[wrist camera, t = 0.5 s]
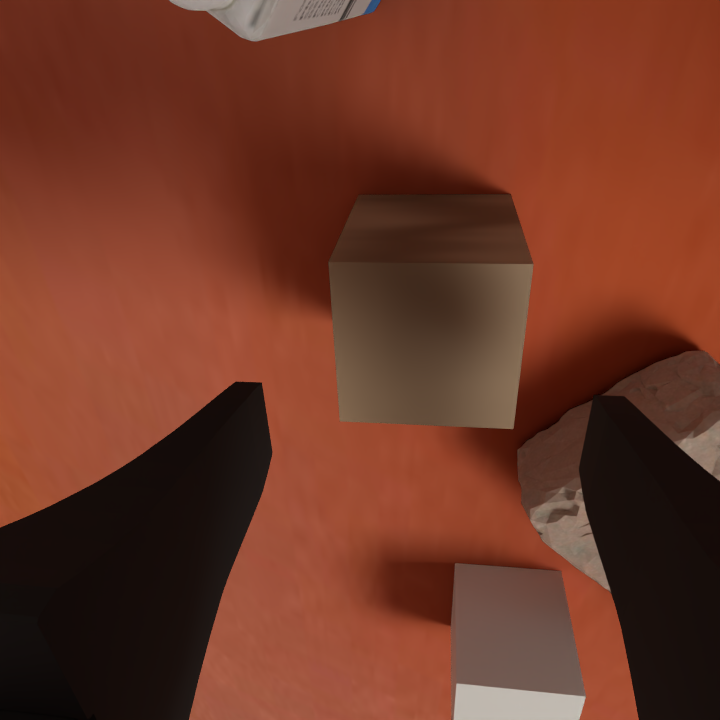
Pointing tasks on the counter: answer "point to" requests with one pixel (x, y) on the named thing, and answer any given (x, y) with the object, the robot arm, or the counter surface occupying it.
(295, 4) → the ink box
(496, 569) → the grey block
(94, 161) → the counter surface
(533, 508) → the brick
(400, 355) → the walnut block
